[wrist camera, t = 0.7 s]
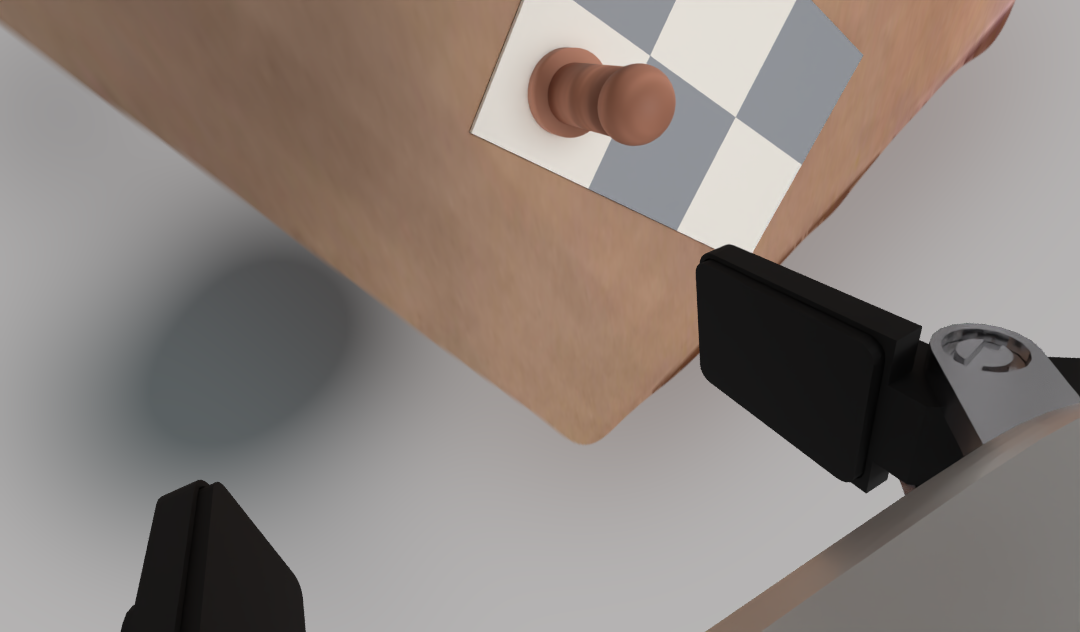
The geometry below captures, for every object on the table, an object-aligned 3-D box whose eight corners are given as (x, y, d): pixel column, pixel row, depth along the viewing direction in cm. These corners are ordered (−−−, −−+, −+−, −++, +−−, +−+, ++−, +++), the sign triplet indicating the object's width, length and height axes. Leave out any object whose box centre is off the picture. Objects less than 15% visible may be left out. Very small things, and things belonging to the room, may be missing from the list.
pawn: (549, 30, 32) (647, 28, 24) (612, 72, 35) (718, 82, 27) (514, 114, 33) (596, 138, 25) (578, 147, 36) (669, 179, 28)
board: (605, -211, 28) (609, -214, 28) (858, 54, 44) (863, 55, 44) (469, 132, 33) (471, 133, 33) (742, 262, 49) (746, 263, 48)
